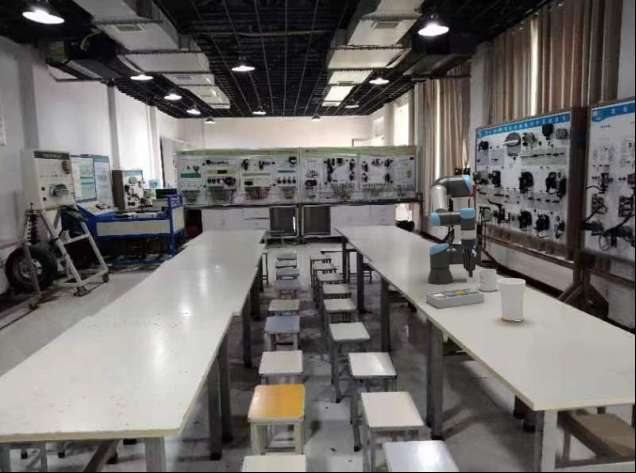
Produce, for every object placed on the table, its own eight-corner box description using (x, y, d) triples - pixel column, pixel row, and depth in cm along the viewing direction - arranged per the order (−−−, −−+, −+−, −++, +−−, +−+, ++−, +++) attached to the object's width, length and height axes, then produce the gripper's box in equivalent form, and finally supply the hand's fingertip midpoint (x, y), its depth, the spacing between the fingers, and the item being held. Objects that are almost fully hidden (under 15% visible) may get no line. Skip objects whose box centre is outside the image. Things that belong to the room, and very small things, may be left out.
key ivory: (432, 298, 245) (432, 294, 244) (440, 297, 246) (440, 293, 245) (436, 300, 240) (436, 296, 240) (444, 299, 241) (444, 295, 241)
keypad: (426, 302, 249) (426, 293, 249) (469, 296, 254) (469, 287, 254) (438, 308, 236) (438, 299, 235) (483, 302, 241) (483, 293, 240)
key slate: (443, 297, 246) (443, 293, 246) (451, 296, 247) (450, 292, 246) (447, 299, 242) (447, 295, 241) (455, 298, 242) (455, 293, 242)
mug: (500, 290, 263) (499, 270, 261) (488, 292, 259) (487, 272, 258) (484, 286, 273) (483, 267, 272) (472, 288, 270) (471, 269, 268)
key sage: (464, 294, 248) (464, 290, 248) (471, 293, 249) (471, 289, 249) (468, 296, 244) (468, 292, 244) (476, 295, 245) (476, 291, 245)
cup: (512, 324, 204) (511, 285, 202) (493, 318, 215) (492, 280, 213) (531, 319, 209) (531, 281, 207) (512, 313, 219) (511, 276, 217)
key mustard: (453, 295, 247) (453, 291, 247) (461, 294, 248) (461, 290, 248) (458, 297, 243) (457, 293, 242) (465, 296, 244) (465, 292, 243)
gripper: (455, 237, 249) (457, 281, 251) (468, 240, 236) (469, 286, 239) (468, 236, 250) (469, 279, 253) (481, 238, 237) (483, 284, 240)
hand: (469, 283), depth 246 cm, fingers closed
